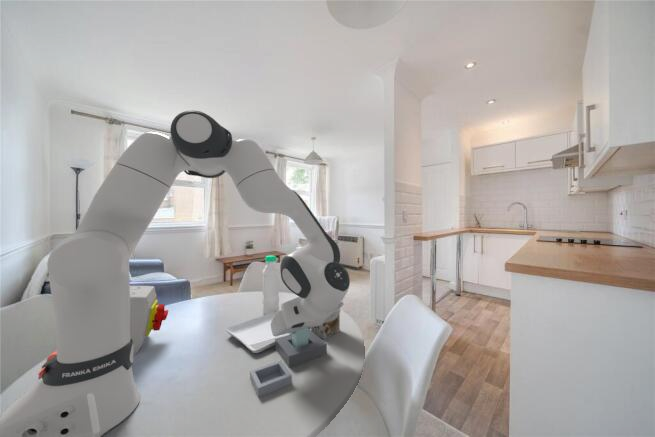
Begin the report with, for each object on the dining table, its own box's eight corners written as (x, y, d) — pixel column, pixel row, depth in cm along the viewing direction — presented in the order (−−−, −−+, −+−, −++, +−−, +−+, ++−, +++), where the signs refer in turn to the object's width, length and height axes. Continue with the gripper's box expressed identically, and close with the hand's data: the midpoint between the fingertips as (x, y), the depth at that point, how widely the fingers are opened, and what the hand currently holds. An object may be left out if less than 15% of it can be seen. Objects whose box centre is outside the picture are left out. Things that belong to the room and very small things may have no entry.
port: (289, 371, 64) (289, 354, 64) (275, 351, 73) (275, 337, 73) (326, 357, 70) (326, 341, 70) (309, 341, 80) (309, 327, 80)
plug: (296, 354, 69) (296, 317, 69) (292, 349, 72) (292, 314, 72) (308, 350, 72) (308, 314, 72) (303, 345, 74) (303, 311, 74)
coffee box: (324, 339, 80) (324, 292, 80) (310, 334, 84) (310, 289, 84) (340, 330, 88) (340, 286, 88) (326, 325, 92) (326, 283, 92)
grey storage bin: (258, 401, 53) (258, 388, 53) (250, 382, 59) (249, 370, 59) (291, 387, 58) (291, 375, 58) (280, 371, 64) (280, 360, 64)
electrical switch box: (157, 357, 74) (168, 293, 76) (94, 364, 67) (107, 293, 69) (164, 337, 87) (173, 282, 89) (112, 340, 80) (123, 281, 82)
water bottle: (261, 311, 106) (261, 255, 106) (277, 308, 109) (276, 254, 109) (264, 317, 99) (263, 257, 99) (280, 314, 102) (280, 256, 102)
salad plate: (224, 337, 83) (224, 327, 83) (275, 318, 99) (275, 310, 99) (253, 362, 69) (253, 350, 69) (309, 336, 84) (309, 326, 84)
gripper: (341, 291, 71) (324, 312, 80) (276, 304, 61) (264, 327, 69) (350, 310, 68) (331, 331, 76) (282, 328, 57) (269, 350, 65)
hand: (299, 329), depth 72 cm, fingers open, 4 cm apart
